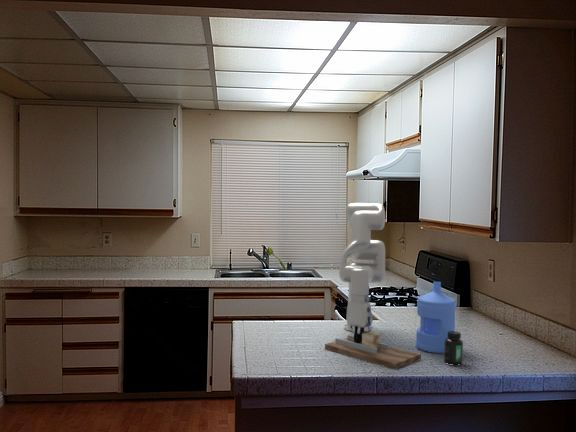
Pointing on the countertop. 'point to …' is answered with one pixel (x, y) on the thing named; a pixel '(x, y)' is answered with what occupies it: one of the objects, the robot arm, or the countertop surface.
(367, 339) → the block
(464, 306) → the countertop surface
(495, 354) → the countertop surface
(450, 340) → the supplement bottle
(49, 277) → the countertop surface
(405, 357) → the deck
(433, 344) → the water jug
